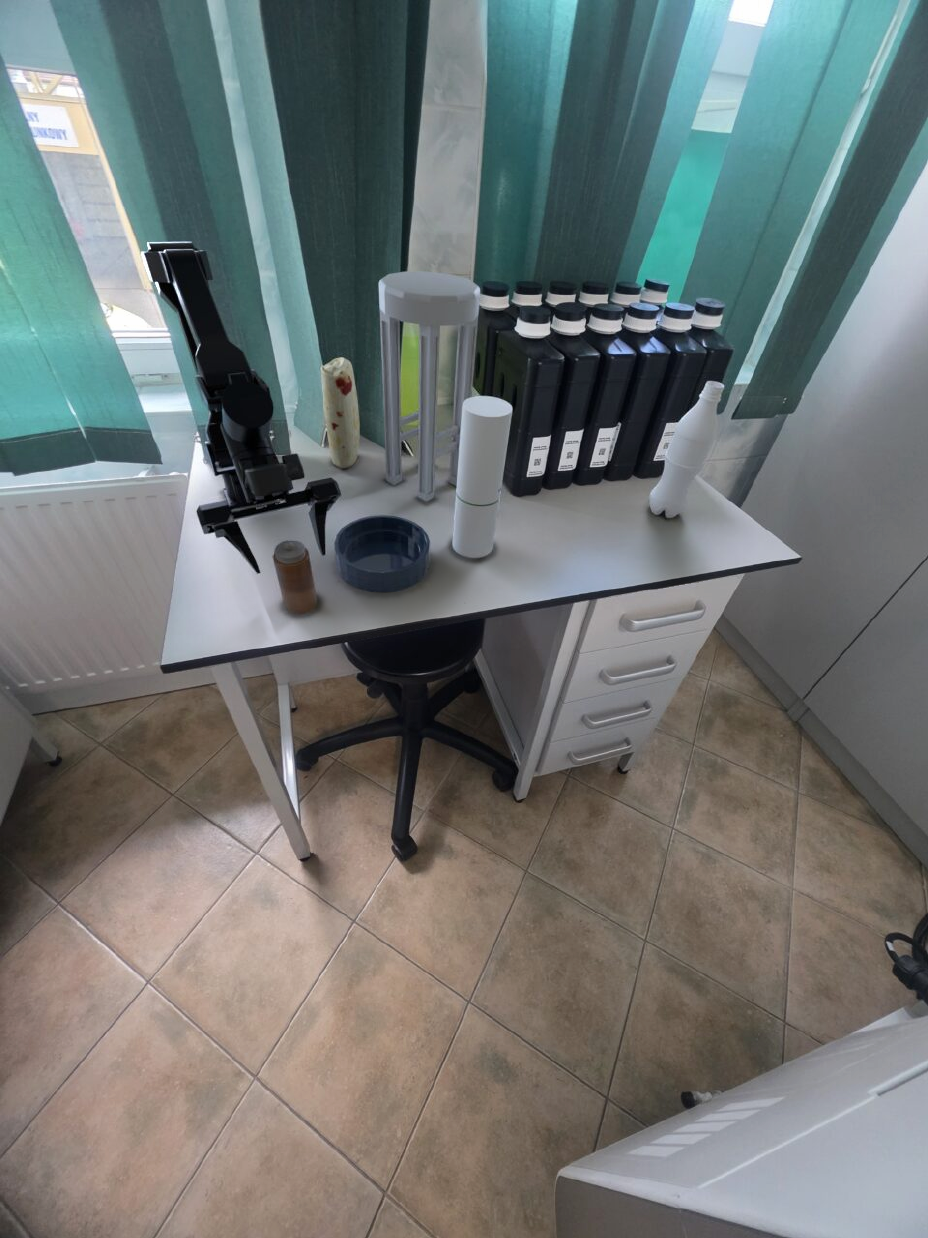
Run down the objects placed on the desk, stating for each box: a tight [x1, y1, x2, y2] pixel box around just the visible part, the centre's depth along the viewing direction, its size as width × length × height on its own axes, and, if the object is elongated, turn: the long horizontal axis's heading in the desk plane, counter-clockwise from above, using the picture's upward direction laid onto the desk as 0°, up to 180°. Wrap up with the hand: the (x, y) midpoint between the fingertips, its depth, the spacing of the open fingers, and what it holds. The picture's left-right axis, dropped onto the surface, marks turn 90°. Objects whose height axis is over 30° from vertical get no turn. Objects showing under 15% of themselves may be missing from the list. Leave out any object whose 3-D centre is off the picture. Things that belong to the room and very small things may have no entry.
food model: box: [319, 356, 361, 469], centre depth 100 cm, size 10×7×20 cm
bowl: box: [333, 514, 431, 593], centre depth 83 cm, size 15×15×4 cm
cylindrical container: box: [452, 395, 513, 559], centre depth 81 cm, size 7×7×25 cm
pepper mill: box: [272, 539, 318, 614], centre depth 72 cm, size 5×5×12 cm
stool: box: [378, 270, 481, 502], centre depth 92 cm, size 16×16×35 cm
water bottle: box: [648, 380, 725, 519], centre depth 94 cm, size 7×7×25 cm
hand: (292, 564), depth 71 cm, fingers open, 9 cm apart
